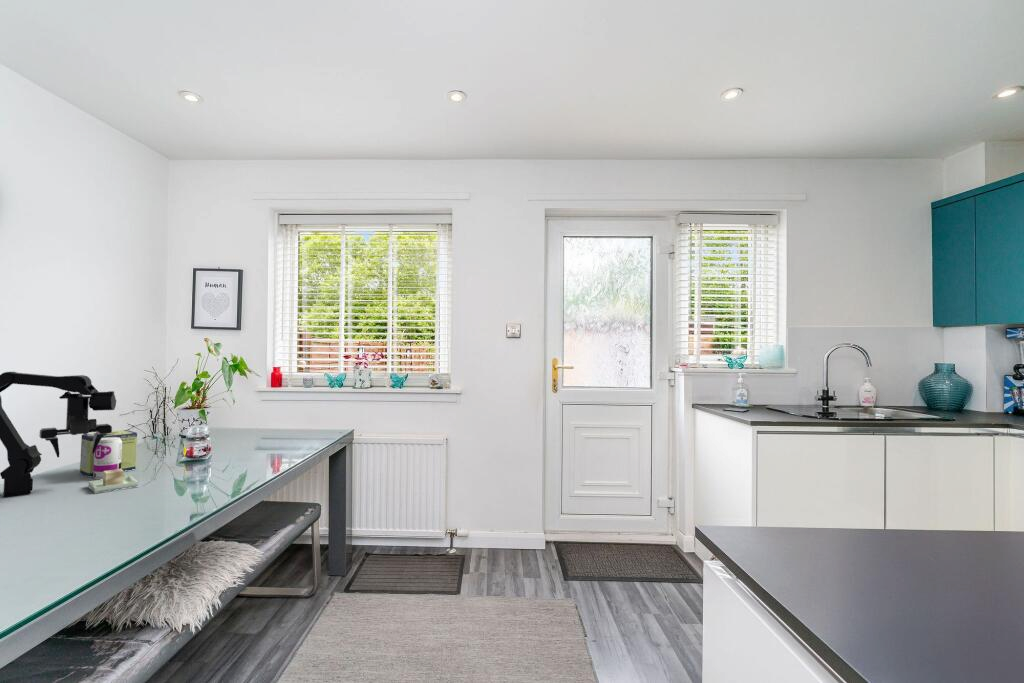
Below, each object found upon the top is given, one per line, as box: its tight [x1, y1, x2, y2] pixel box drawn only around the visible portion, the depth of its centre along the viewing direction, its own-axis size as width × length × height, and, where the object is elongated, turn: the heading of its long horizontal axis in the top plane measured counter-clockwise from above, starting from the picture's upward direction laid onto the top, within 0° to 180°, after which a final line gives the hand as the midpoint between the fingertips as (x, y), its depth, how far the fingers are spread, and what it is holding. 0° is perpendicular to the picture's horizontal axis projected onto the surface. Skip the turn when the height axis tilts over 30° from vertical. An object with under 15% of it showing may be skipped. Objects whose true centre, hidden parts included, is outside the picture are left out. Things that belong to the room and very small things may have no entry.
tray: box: [88, 475, 139, 494], centre depth 177 cm, size 12×12×2 cm
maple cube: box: [103, 469, 125, 486], centre depth 177 cm, size 5×5×5 cm
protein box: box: [79, 429, 138, 478], centre depth 199 cm, size 10×16×16 cm
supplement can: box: [92, 437, 122, 480], centre depth 190 cm, size 8×8×15 cm
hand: (75, 455), depth 173 cm, fingers open, 9 cm apart
